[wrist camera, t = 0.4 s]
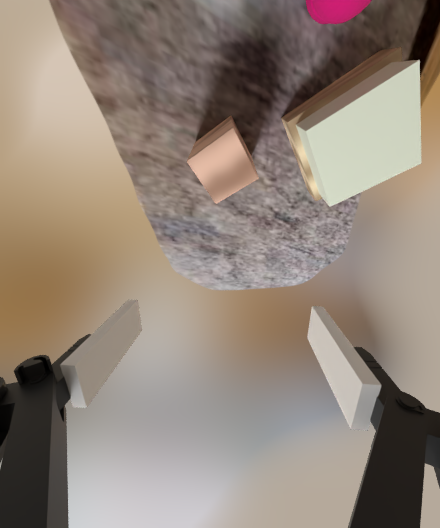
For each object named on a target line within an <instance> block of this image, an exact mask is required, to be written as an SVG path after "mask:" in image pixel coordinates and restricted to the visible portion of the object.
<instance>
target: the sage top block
mask: <svg viewBox="0 0 440 528" xmlns="http://www.w3.org/2000/svg"><path fill="white" fill-rule="evenodd" d="M420 115H421V114H420V60H412V61H401V62H391V63H390V64H388V65H387V66H385V67H384V68H382V69H381V70H379V71H377V72H376V73H374V74H373V75H371V76H370V77H368V78H367V79H365V80H364V81H362V82H361V83H359V84H357V85H356V86H354V87H353V88H351V89H350V90H348V91H347V92H345V93H344V94H342V95H341V96H339V97H337V98H336V99H334V100H333V101H331V102H330V103H328V104H327V105H325V106H324V107H322V108H321V109H319V110H318V111H316V112H314V113H313V114H311V115H310V116H308V117H307V118H305V119H304V120H302V121H301V122H299V123H298V124H296V127H297V130H298V133H299V136H300V139H301V142H302V145H303V148H304V150H305V153H306V156H307V159H308V162H309V165H310V168H311V171H312V174H313V177H314V180H315V183H316V186H317V189H318V192H319V194H320V195H321V197H322V198H323V199H324V200H325V201H326V203H327V204H328V205H329V206H330V207H331V206H333V205H335V204H337V203H339V202H341V201H343V200H345V199H347V198H349V197H352V196H354V195H356V194H358V193H360V192H362V191H364V190H366V189H368V188H370V187H372V186H375V185H377V184H379V183H381V182H383V181H385V180H387V179H389V178H391V177H394V176H396V175H398V174H400V173H402V172H404V171H406V170H408V169H410V168H412V167H415V166H417V165H419V164H421V116H420Z"/></svg>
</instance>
